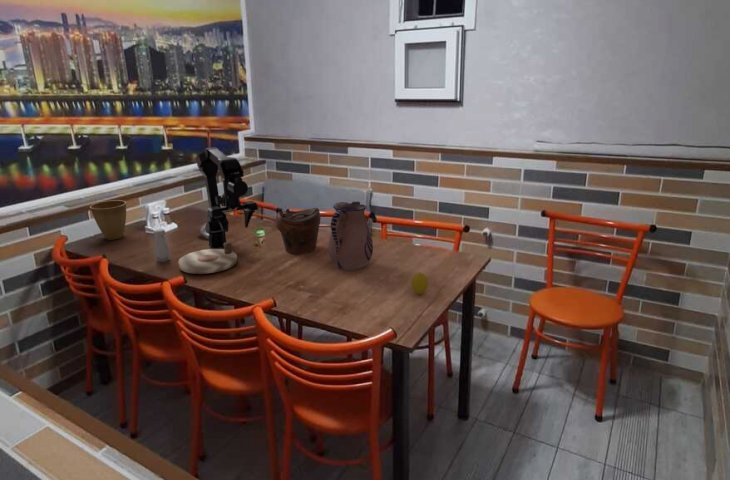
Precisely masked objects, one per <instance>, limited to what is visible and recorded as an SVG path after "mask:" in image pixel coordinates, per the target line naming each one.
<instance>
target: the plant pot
mask: <svg viewBox="0 0 730 480" xmlns="http://www.w3.org/2000/svg"><path fill="white" fill-rule="evenodd" d="M89 209H90V211H91V214H92V217H93V219H94V221H95V223H96V225H97V227H98V228H99V230H100V232H101V234H102V235H103V237H104V238H105V239H106V240H110V241H111V240H117V239H121V238H123V237H124V233H125V229H126V223H127V202H126V201H125V200H119V199H115V200H105V201H104V200H103V201H100V202H95V203H93V204H91V205H89Z"/></svg>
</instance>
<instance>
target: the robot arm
mask: <svg viewBox="0 0 730 480" xmlns="http://www.w3.org/2000/svg"><path fill="white" fill-rule="evenodd" d="M196 165H197V168H198V169H199V172H200V174H201V175H202V176H203V177H204V181H205V188H206V195H207V200H208V208H207V216H206V224H205V226H204V229H205V233H206V234H207V235H208V246H209V247H211V248H212V249H221V248H224V243H226V242H227V235H226V233H227V232H229V220H228V218H227V214H226V213H229V212H236V211H242V210H243V213H244V228H246V229H247V228H248V226H249V223H250V221H251V218H252V216H253V214H254V213H256V211H258V210H259V205H258V203H257V202H255V201H253V200H248V201H243V203H242V204H241V197H243V196H244V195H246V194H247V192H248V191H249V186H248V183H246V182H245V181H243V177H245V175H244V174H245V172H244V169H243V168H242V164H241V163H240V161H239V160H238V159H237V158H236V157H232V156H227V155H225V154H224V153H223V152H222V151H220V149H219V148H218V147H207V148H205V149H204V151H203V152H201V153H200V154H198V157H197V159H196ZM218 172H219V174H220V176H221V179H222V185H223V186H222V187H223V193H222V196H221V195H219V189H218V182H217V174H218Z"/></svg>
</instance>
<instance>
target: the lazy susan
mask: <svg viewBox="0 0 730 480" xmlns="http://www.w3.org/2000/svg"><path fill="white" fill-rule="evenodd" d="M237 262H238V256H237V253H236V252H234V251H233V247H232V242H230V241H226V243H224V246H223V248H207V249H201V250H196V251H193V252H190V253H186V254H185V255H183V256H182V257H180V258H179V259H178V267H179V269H180V270H181V271H182V272H184V273H187V274H194V275H195V274H197V275H198V274H199V275H203V274H212V273H218V272H221V271H225V270H228V269H230V268H232V267H234V266H235V265H236V264H237Z"/></svg>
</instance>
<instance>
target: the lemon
mask: <svg viewBox="0 0 730 480" xmlns="http://www.w3.org/2000/svg"><path fill="white" fill-rule="evenodd" d="M428 286H429V282H428V278H427V276H426V275H425V274H424V273H422V272H418V273H416V274H414V275H413V277H412V278H411V289H412V290H413V292H414V293H416V294H418V295H421V294H423V293H426V291H427V289H428Z"/></svg>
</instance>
